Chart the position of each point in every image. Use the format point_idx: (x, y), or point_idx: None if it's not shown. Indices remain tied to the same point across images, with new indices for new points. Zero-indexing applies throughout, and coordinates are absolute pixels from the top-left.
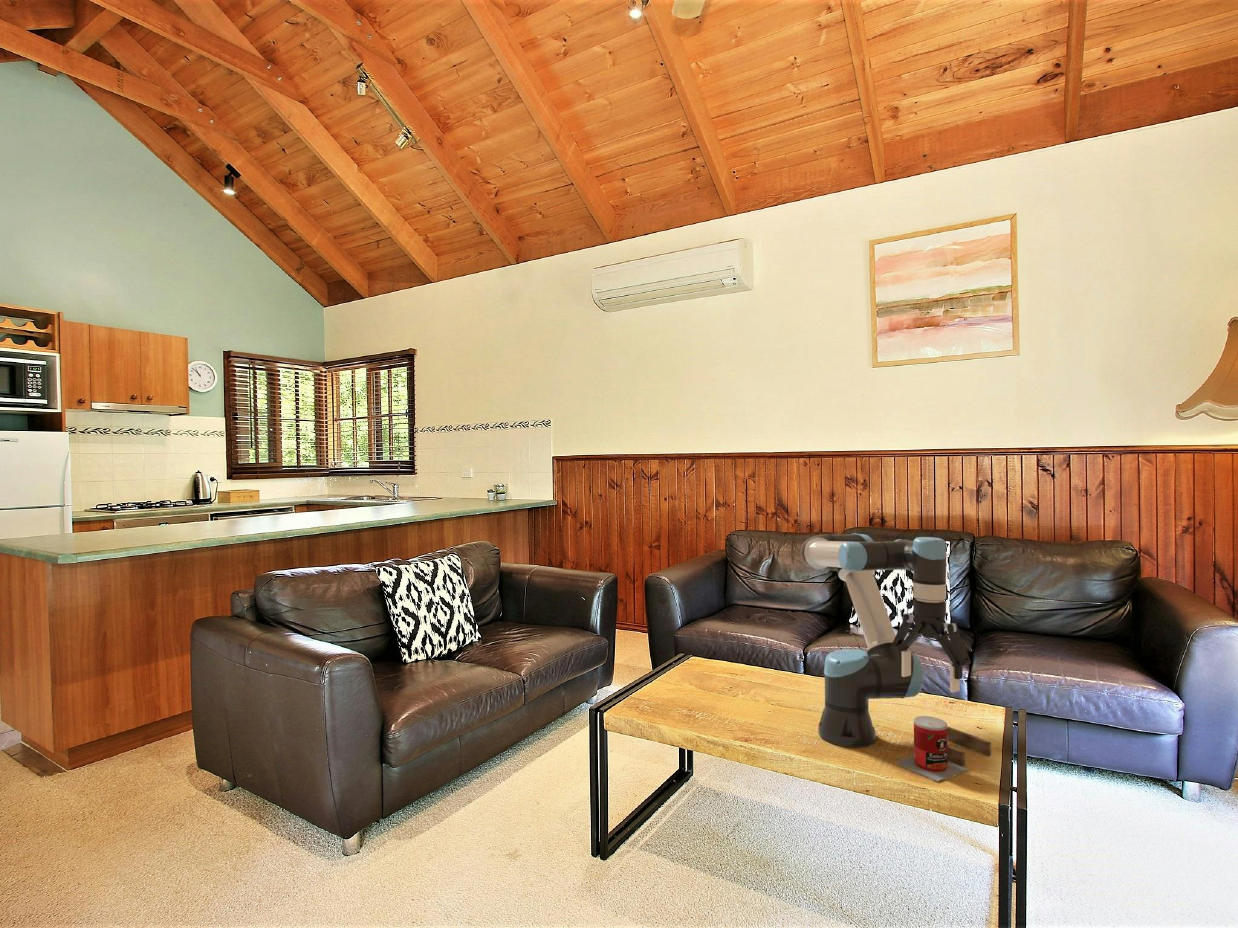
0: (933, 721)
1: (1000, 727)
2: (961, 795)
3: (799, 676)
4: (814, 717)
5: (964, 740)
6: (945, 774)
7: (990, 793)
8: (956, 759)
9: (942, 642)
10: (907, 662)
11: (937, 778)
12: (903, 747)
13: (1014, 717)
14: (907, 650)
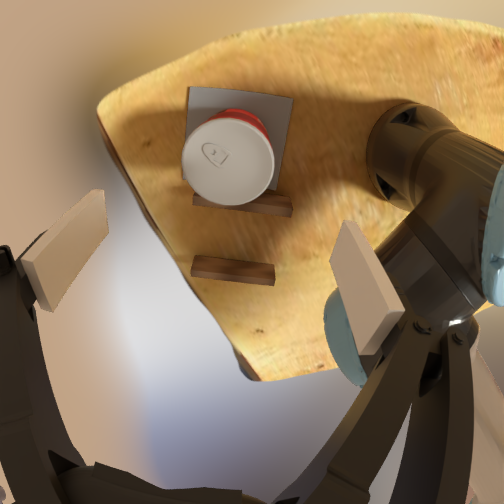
0: (229, 181)
1: (240, 345)
2: (139, 79)
3: (490, 305)
4: None
5: (237, 268)
6: (195, 123)
7: (117, 128)
8: None
9: (4, 398)
10: (354, 283)
11: (195, 95)
12: (316, 181)
13: (244, 372)
14: (375, 343)
